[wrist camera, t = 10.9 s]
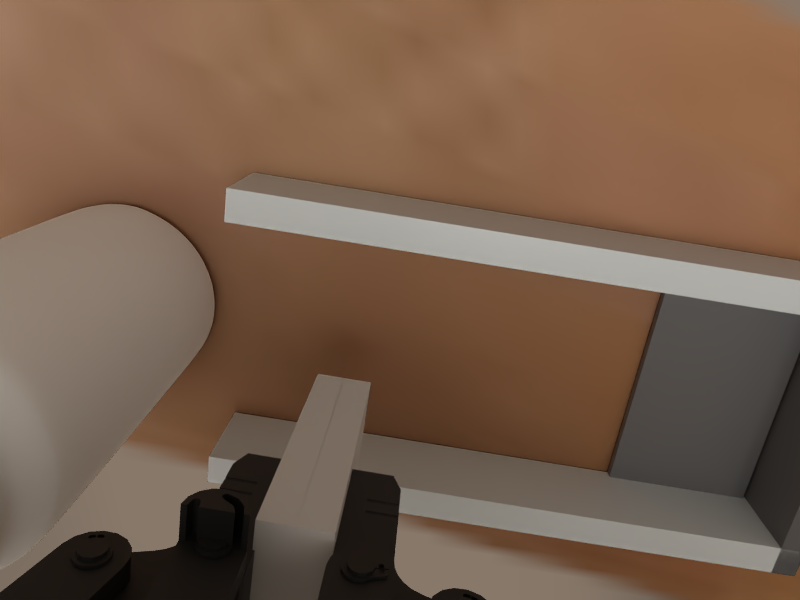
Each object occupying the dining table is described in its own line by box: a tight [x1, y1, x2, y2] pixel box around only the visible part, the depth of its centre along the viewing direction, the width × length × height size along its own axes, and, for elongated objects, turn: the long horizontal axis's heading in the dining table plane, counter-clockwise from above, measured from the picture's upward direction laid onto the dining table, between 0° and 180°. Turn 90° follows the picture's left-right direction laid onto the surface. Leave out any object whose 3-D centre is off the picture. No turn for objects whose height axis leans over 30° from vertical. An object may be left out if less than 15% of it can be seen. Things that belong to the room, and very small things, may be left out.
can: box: [0, 204, 215, 570], centre depth 18 cm, size 6×6×12 cm
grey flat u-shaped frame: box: [207, 173, 800, 576], centre depth 22 cm, size 20×10×3 cm, turn 81°
